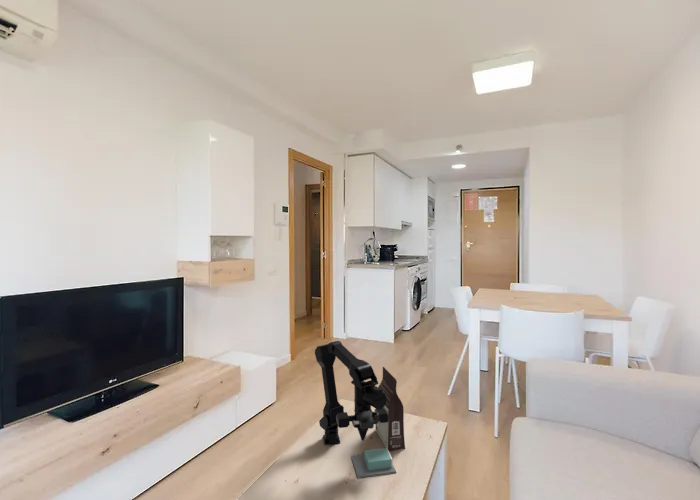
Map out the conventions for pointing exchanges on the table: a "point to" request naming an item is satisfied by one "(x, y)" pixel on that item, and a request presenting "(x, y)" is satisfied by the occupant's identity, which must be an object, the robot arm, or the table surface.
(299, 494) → the table surface
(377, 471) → the mat
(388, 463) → the slab
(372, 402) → the robot arm
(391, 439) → the protein powder
